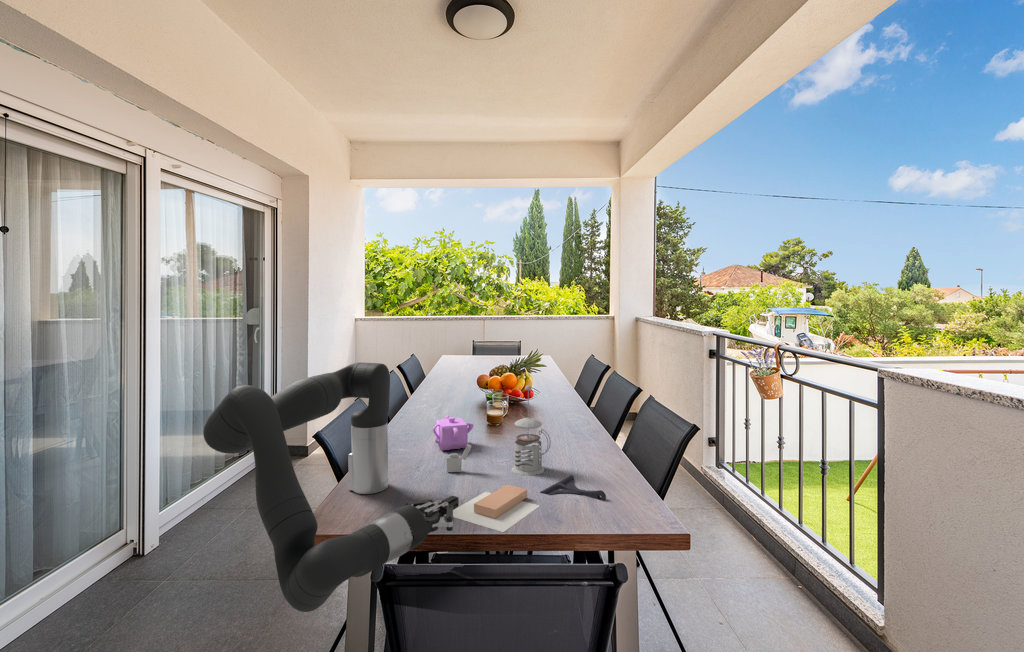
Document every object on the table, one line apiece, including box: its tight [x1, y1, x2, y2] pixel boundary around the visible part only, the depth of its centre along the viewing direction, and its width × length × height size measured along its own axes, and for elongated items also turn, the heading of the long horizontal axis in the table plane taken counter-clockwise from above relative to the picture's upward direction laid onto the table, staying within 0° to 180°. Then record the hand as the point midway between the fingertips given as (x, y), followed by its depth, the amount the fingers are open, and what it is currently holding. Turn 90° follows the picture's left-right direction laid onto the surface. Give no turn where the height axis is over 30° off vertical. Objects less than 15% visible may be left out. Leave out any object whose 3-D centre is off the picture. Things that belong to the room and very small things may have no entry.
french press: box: [511, 384, 552, 476], centre depth 144 cm, size 10×12×25 cm
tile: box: [474, 484, 528, 518], centre depth 119 cm, size 6×2×14 cm
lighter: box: [446, 443, 472, 473], centre depth 143 cm, size 7×2×8 cm, turn 90°
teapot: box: [432, 414, 475, 451], centre depth 168 cm, size 18×14×10 cm
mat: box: [453, 491, 540, 533], centre depth 116 cm, size 16×16×1 cm
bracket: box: [539, 475, 607, 502], centre depth 128 cm, size 14×15×3 cm
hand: (455, 500), depth 104 cm, fingers closed
